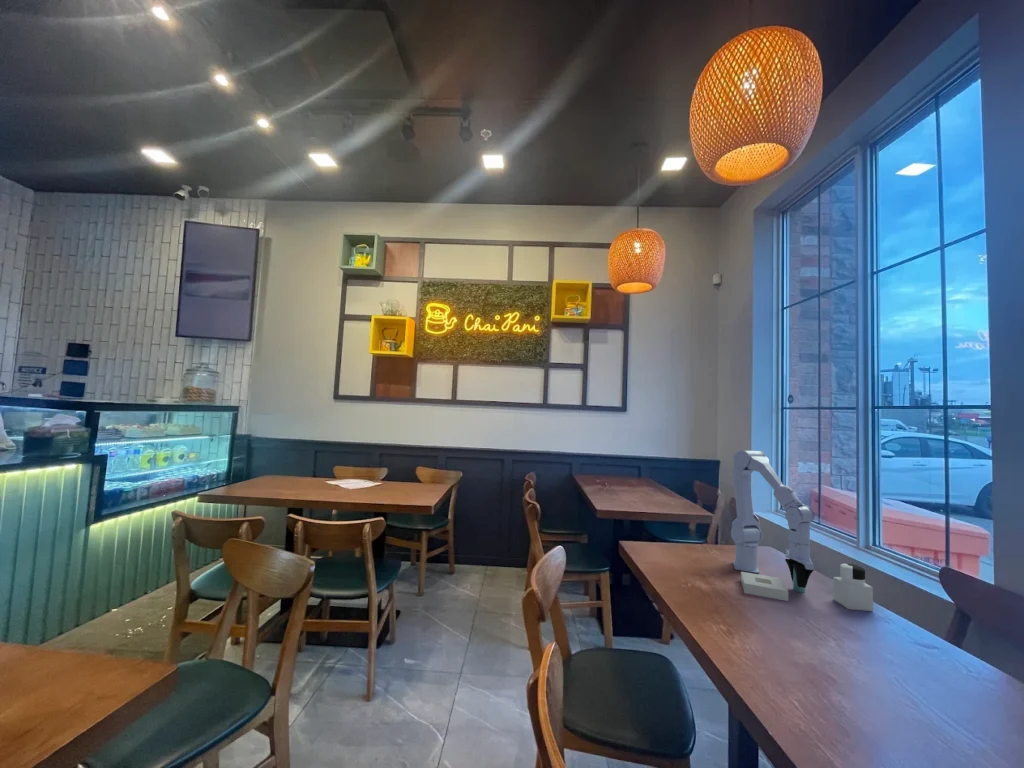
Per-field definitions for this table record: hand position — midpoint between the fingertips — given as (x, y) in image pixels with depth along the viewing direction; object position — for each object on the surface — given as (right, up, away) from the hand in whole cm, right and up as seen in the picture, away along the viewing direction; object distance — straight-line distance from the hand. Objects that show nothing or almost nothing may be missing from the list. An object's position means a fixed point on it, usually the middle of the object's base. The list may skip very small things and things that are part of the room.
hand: (799, 584), depth 142 cm
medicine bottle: (+10, -2, -10) cm, 14 cm away
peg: (0, -2, 0) cm, 2 cm away
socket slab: (-13, -1, -1) cm, 13 cm away
